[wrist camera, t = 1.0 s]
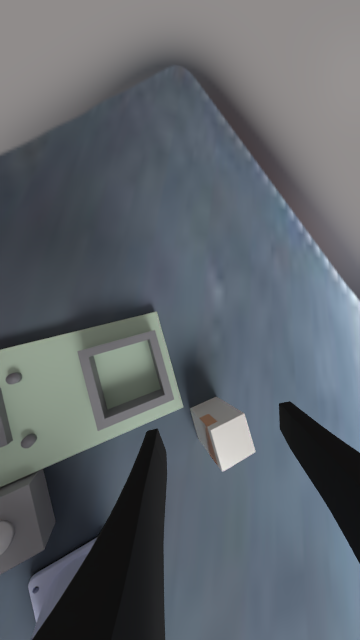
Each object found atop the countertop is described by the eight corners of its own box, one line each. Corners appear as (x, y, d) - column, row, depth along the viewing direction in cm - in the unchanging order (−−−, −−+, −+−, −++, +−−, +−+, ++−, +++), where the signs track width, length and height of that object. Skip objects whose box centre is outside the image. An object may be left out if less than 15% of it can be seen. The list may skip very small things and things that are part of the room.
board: (180, 403, 22) (190, 415, 19) (-19, 489, 16) (-59, 529, 13) (155, 313, 23) (160, 307, 19) (-47, 362, 17) (-93, 368, 13)
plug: (224, 426, 24) (255, 452, 18) (198, 439, 22) (222, 472, 17) (216, 396, 24) (244, 412, 18) (189, 408, 23) (210, 429, 17)
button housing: (55, 521, 17) (42, 555, 15) (-16, 559, 16) (-46, 604, 13) (42, 465, 18) (26, 487, 15) (-30, 496, 16) (-62, 528, 13)
